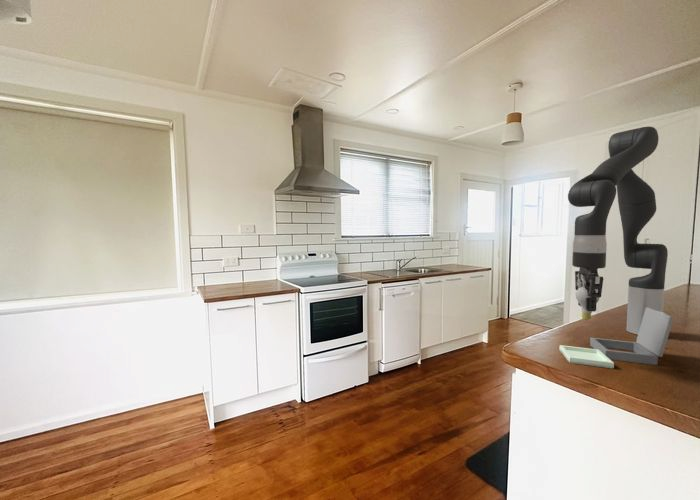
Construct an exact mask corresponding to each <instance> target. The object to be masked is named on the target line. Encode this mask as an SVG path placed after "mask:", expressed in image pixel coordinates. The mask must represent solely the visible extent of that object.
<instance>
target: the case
mask: <svg viewBox="0 0 700 500" xmlns="http://www.w3.org/2000/svg"><path fill="white" fill-rule="evenodd" d="M589 345H590V347H592V349H598V350H600V351H601V352H602V353H603V354H604V355H606V356H607V357H608V358H609V359H610V360H611V361H613V360H614V361H619V362H627V363H628V362H629V363H637V364H644V365H652V366H658V363H659V362H658V360H659V359H658V358H659V356H657V355H656V354H654V353H653V352H651V351H649V350H648V349H646V348H645V347H643V346H641V345H640V344H638V343H637V342H636V341H629V340H628V341H626V340H620V339H619V340H617V339H607V338H599V337H589ZM608 348H609V349H608ZM611 349H613V350H611ZM615 349H617V350H615ZM620 350H626V351H620ZM629 351H631V352H629ZM632 351H633V352H632Z"/></svg>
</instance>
